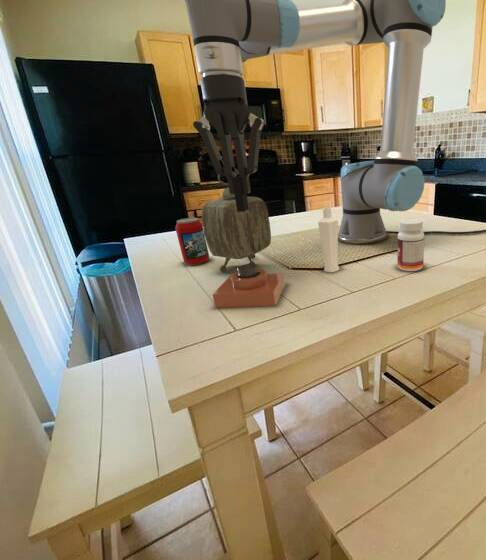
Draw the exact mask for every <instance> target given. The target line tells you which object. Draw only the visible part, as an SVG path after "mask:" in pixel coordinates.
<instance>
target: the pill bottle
mask: <svg viewBox="0 0 486 560" xmlns="http://www.w3.org/2000/svg"><path fill="white" fill-rule="evenodd" d="M423 222H424V221H423V220H422V219H418V218H407V219H406V218H405V219H402V220H401V219H400V221H399V230H400V231H398V232H399V233H398V234H397V268H398V269H399V270H401V271H406V272H417V271H420V270H422V268H423V267H424V259H425V258H424V257H425V234H424V233H423V232H424V231H422V230H423V229H424V225H423V224H424V223H423Z"/></svg>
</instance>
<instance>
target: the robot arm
mask: <svg viewBox="0 0 486 560" xmlns="http://www.w3.org/2000/svg"><path fill="white" fill-rule="evenodd" d="M184 2H185V6H186V12H187V17H188V21H189V27H190V31H191V36H192V42H193V47H194V48H193V49H194V55H195V59H196V65H197V71H198V73H199V75H201V77H200V79H199V83H200V88H201V92H202V94H201V95H202V99H203V102H204V109H203V116H202V117H201V118H200V119H199V120H194V121H193V123H192V125H193V128H194V129H195V130H196V131H197V133H198V134H199V135H200V137H201V140H202V141H203V144H204V147H205V148H206V152H207V155H208V156H209V159H210V161H211V163H212V166H213V168H214V171H215V173H216V174H217V175H218V174H220V176H224V177H225V178H226V179H227V183H228V186H227V187H229V192H230V194H235V200H236V206H237V212H245V211H247V210H248V209H249V207H248V200H247V197H248V195H247V194H250V193H251V191H252V190H251V189H252V188H251V183H250V175H252V174H254V173H256V172H258V165H259V155H260V143H261V142H260V141H261V132H262V130H263V129H264V126H265V120H264V119H263V118H260V117H258V116H256V115H255V114H253V113H252V110H251V107H250V106H249V103H248V99H247V98H248V97H247V89H246V83H245V79H244V78H243V77H242V76H243V74H244V68H243V63H245V62H247V60H251V59H256V58H262V57H266V56H271V55H278V54H283V53H284V54H285V53H289V52H295V51H302V50H307V49H313V48H319V47H325V46H332V45H338V44H344V43H345V44H346V45H348V46H349V47H350V46H351V47H353V46H360V45H372V44H382V43H383V44H384V45H385V46H386V48H387V63H386V75H385V87H384V88H385V90H384V100H383V113H382V124H381V125H382V126H381V138H380V139H381V140H380V151H379V153H377V155H376V156H374V157H373V160H366V161H360V162H354V163H348V164H345V165H343V166H342V167H341V168H340V179H339V180H340V189H341V203H342V219H341V222H340V226H339V229H338V241H340V242H342V243H345V244H350V245H369V244H374V243H379V242H382V241H384V240H385V239H386V238H387V234H391V235H393V234H394V235H398V233H399V232H400V231H393V230H387V229H386V227H385V224H384V220H383V218H382V215H381V210H387V211H390V212H407V211H409V210H411V209H412V208H414V207H415V206H416V204H418V203H419V201H420V199H421V198H422V196H423V193H424V189H425V176H424V173H423V171H422V170H421V168H419V167H418V162H419V161H418V158H417V156H415V154H414V145H415V135H416V127H417V126H416V125H417V117H418V116H417V115H418V107H419V96H420V87H421V77H422V69H423V60H424V51H425V49H426V47H427V46H429V44H431V41H432V35H433V27H435V26H437V25H438V24H439V23H440V22H441V20H442V19H443V18H444V16H445V14H446V13H445V12H446V6H447V1H446V0H344V1H343V2H342V4H335V5H327V6H316V7H307V8H297V6H296V4H295V3H294V1H292V0H184ZM248 123H249V127H250V133H249V144H248V145H249V146H248V158H247V152H246V151H247V150H246V145H245V133H244V132H245V129H246V127H247V125H248ZM211 127H213V128H214V130H215V131H216V132H217V138H218V140H219V144H220V150H221V152H220V150H219V148H218V144H217V143H216V140H215V138H214V135H213V133H212V132H211ZM232 140H233V146H234V151H233V146H232ZM234 152H235V158H236V159H235V158H234ZM235 160H236V164H237V170H238V172H239V174H238V173H237V172H236V171H235V168H236V165H235ZM422 232H423V233H424V235H429V234H437V235H439V234H440V235H441V234H442V235H471V234H480V233H482V234H483V233H486V229H479V230H470V231H445V230H444V231H442V230H441V231H440V230H432V231H431V230H430V231H429V230H428V231H422Z"/></svg>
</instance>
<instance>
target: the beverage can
mask: <svg viewBox="0 0 486 560" xmlns="http://www.w3.org/2000/svg"><path fill="white" fill-rule="evenodd" d="M175 232H176V236H177V240H178V244H179V248H180V252H181V256H182V259H183V262H184V263H185V264H188V265H189V266H190V265H191V266H195V265H196V266H197V265H201V264H204V263H206V262H207V261H208V260H209V259H210V254H209V247H208V245H207V241H206V238H205V235H204V230H203V223H202V221H200V220H199V217H187V218H181V219H178V220H176V224H175Z"/></svg>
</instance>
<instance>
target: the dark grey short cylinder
mask: <svg viewBox="0 0 486 560" xmlns="http://www.w3.org/2000/svg"><path fill="white" fill-rule="evenodd" d="M258 268H259V267H258V264H256V263H255V264H249V263H244V264H241V265H239V266H237V268H236V269H237V271H236V272H238V276H239V278H252V277H255V276H257V275H259V273H258Z"/></svg>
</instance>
